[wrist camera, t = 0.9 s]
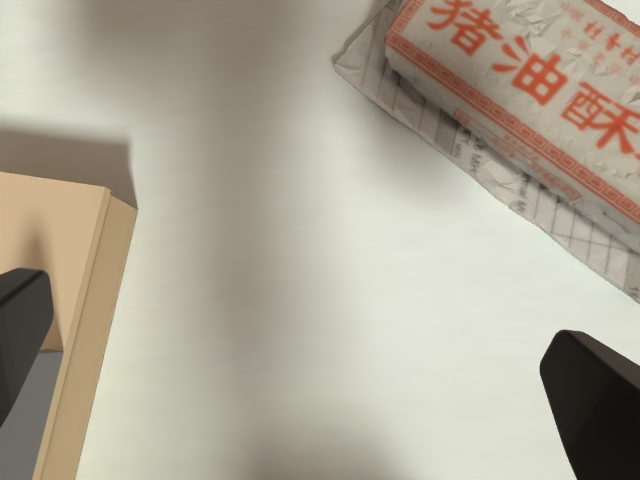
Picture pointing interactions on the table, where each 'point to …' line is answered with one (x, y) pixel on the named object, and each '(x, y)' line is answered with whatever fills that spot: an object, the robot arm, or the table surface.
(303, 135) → the table surface
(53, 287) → the lid
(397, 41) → the packaged product
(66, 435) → the cardboard box
